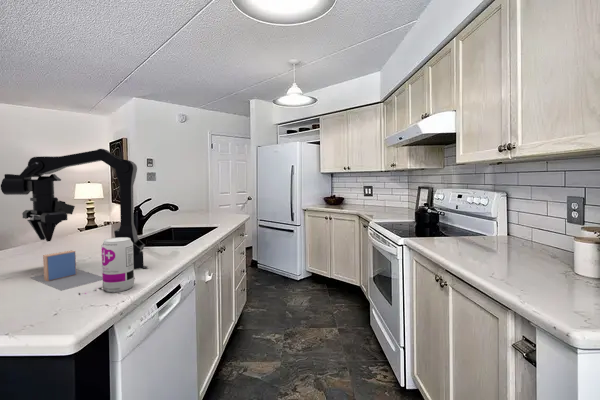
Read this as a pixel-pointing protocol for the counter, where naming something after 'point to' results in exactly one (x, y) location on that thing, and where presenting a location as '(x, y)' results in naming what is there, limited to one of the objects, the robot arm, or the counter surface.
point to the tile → (59, 265)
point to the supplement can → (117, 264)
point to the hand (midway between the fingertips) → (45, 240)
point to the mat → (70, 280)
